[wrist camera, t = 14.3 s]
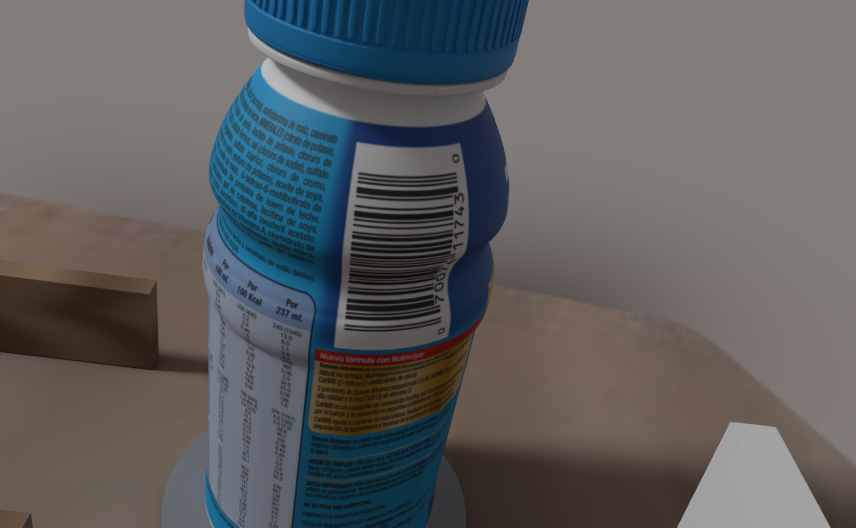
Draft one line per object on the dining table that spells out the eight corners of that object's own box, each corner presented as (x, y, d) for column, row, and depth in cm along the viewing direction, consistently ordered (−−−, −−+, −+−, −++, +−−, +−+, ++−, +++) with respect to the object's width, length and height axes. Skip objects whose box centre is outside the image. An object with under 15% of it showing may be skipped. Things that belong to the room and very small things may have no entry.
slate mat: (457, 421, 33) (459, 411, 33) (471, 666, 24) (475, 656, 24) (204, 391, 32) (204, 381, 32) (115, 636, 23) (114, 624, 23)
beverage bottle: (148, 539, 25) (119, -125, 15) (276, 390, 32) (318, -132, 22) (379, 645, 23) (534, -23, 13) (462, 463, 30) (605, -66, 20)
